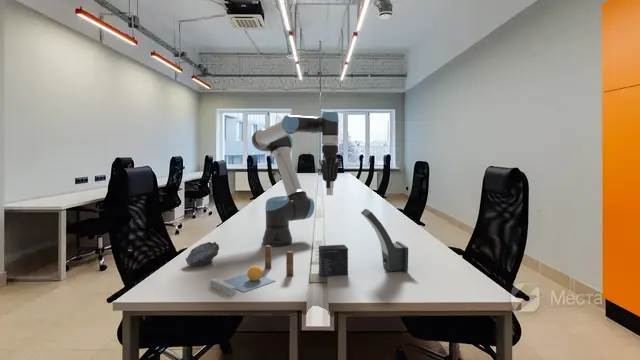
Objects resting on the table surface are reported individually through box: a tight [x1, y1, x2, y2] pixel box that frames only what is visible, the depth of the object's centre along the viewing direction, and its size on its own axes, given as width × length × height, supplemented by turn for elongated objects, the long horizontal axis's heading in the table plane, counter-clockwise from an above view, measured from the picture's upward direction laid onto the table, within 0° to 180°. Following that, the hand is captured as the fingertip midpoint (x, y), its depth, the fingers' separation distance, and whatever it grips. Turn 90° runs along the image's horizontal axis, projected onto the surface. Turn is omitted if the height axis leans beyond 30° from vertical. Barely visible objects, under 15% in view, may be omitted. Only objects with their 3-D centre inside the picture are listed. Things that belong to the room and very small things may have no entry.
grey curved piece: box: [360, 208, 409, 273], centre depth 145 cm, size 11×17×24 cm, turn 100°
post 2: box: [285, 250, 294, 277], centre depth 138 cm, size 3×3×9 cm
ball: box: [246, 265, 263, 281], centre depth 132 cm, size 6×6×6 cm
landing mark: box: [222, 273, 276, 293], centre depth 131 cm, size 14×14×1 cm
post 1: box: [264, 245, 272, 270], centre depth 146 cm, size 3×3×9 cm
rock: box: [185, 241, 220, 267], centre depth 152 cm, size 16×8×10 cm
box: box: [318, 244, 349, 277], centre depth 140 cm, size 11×7×10 cm, turn 100°
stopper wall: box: [209, 277, 237, 297], centre depth 123 cm, size 12×2×2 cm, turn 49°
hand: (329, 195), depth 171 cm, fingers closed
